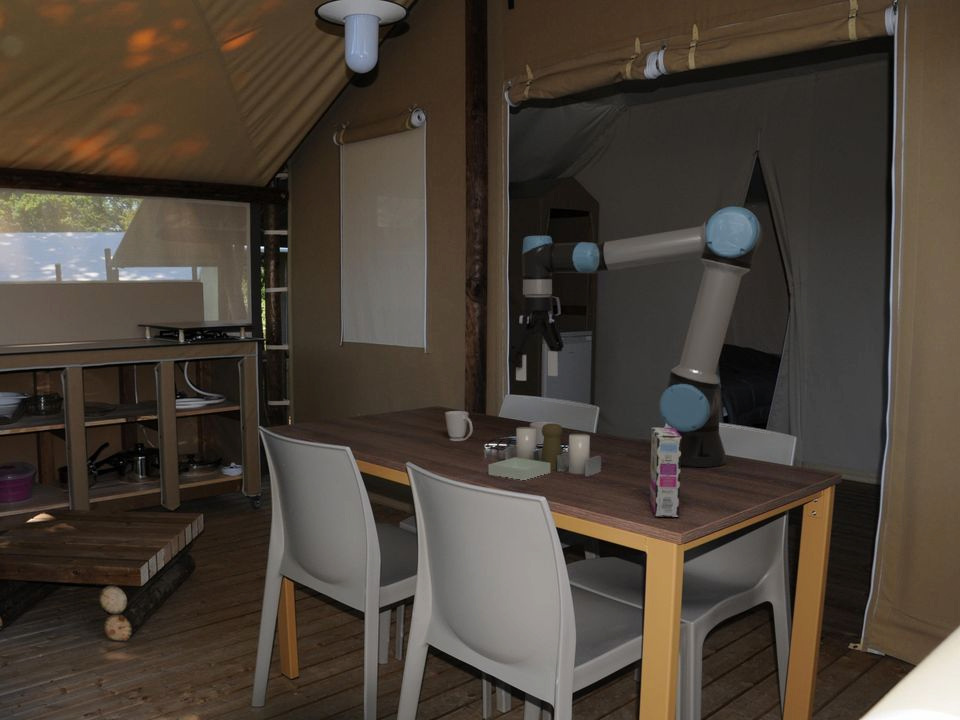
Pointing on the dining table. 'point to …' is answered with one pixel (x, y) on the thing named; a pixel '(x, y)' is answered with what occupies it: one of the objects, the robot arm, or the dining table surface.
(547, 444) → the cork
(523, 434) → the cream rounded capsule
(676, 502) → the candy bar box
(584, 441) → the cream jar
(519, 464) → the tray
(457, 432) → the cup
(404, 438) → the dining table surface
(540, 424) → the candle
